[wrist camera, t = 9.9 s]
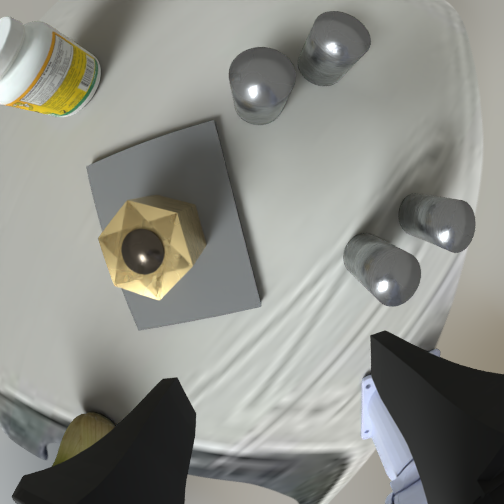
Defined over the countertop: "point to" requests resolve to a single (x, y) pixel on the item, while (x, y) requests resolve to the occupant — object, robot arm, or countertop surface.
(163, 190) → the mat
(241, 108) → the cylinder
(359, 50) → the cylinder
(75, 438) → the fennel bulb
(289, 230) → the countertop surface
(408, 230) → the cylinder
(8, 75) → the supplement bottle
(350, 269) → the cylinder
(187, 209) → the nut
